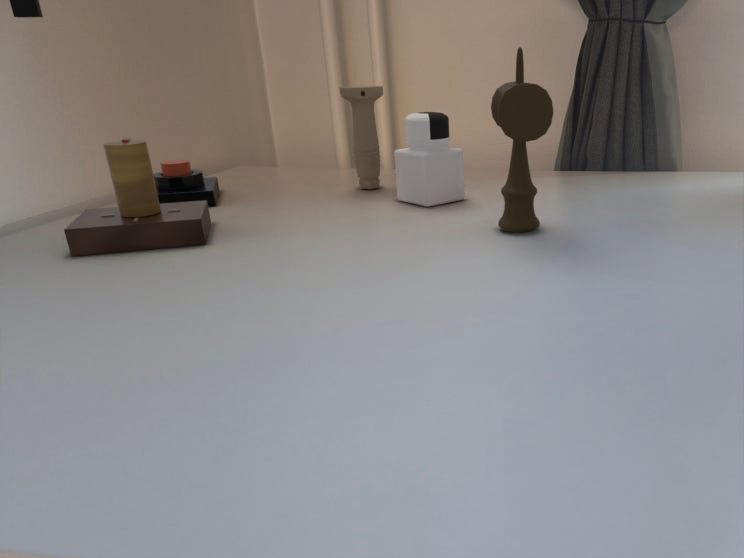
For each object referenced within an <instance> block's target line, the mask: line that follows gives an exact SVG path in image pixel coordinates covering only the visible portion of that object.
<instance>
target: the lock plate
mask: <svg viewBox="0 0 744 558" xmlns="http://www.w3.org/2000/svg"><path fill="white" fill-rule="evenodd" d="M160 208H161V212H160V213H158V214H155V215H150V216H144V217H122V216H121V215H120V211H119V207H118V206H109V207H96V208H95V207H94V208H86V209H84V210H83V211H82V212H81V213H80V214H79V215H78V216H77V217H76V218H75V219H74V220H72V222H70V223H69V224H68V225H67V226H66V227H65V228H64V229H63V232H64V235H65V239H66V243H67V246H68V249H69V253H70V256H71V257H78V256H79V257H80V256H90V255H102V254H114V253H125V252H136V251H146V250H148V251H149V250H157V249H158V250H159V249H168V248H180V247H192V246H202V245H207V242H208V237H209V233H210V229H211V225H212V219H211V215H210V210H209V206H208V203H207V200H204V201H190V202H176V203H163V204H160Z"/></svg>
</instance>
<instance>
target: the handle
mask: <svg viewBox="0 0 744 558" xmlns="http://www.w3.org/2000/svg"><path fill="white" fill-rule="evenodd" d="M339 94H340V97H341V98H342V99H344V100H346V101H347V102H349V104H350V106H351V115H352V118H351V119H352V138H353V139H352V141H353V155H354V156H353V157H354V158H353V159H354V166H355V170H356V175H357V178H359V179H358V184H359V188H360V189H361V190H369V191H370V190H374V189H375V190H376V189H379V188H380V186H381V185H380V184H381V180H380V176H381V154H380V153H381V151H380V144H379V143H380V142H379V137H378V131H377V122H376V113H375V102H376V101H377V100H379V99H380V98H381V97H383V96H384V86H383V85H353V86H352V85H351V86H350V85H349V86H339Z"/></svg>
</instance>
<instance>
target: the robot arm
mask: <svg viewBox="0 0 744 558" xmlns="http://www.w3.org/2000/svg"><path fill="white" fill-rule="evenodd" d="M9 4H10V8H11V11H12V15H13V17H15V18H43V17H44V15H43V12H42V8H41V4H40V0H9Z"/></svg>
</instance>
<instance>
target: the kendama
mask: <svg viewBox="0 0 744 558" xmlns="http://www.w3.org/2000/svg"><path fill="white" fill-rule="evenodd" d="M515 60H516V61H515V81H509V82H505V83H503V84H501V85H500V86H499V87H497V88H496V90H495V91H494V93H493V95H492V97H491V103H490V111H491V116H492V117H491V118H492V119H493V120H494V121H493V122H495V124H496V126H498V127H499V128H500V129H501V131H502V132H503V134H504V135H505V136H506V137H508V138H510V139H511V140H512V145H511V155H510V161H509V169H508V175H507V178H506V182H505V184H504V185H503V186H502V187H501V190H500V193H501V195H502V197H503V201H504V206H503V207H504V208H503V213H502V215H501V217H500V218H499V220H498V221H497V226H498V228H499V229H501V230H503V231H506V232H510V233H527V232H531V231H534V230H536V229H538V228H539V227H540V226H541V225H540V224H541V223H540V220H539V218H538V217H537V216H536V213H535V204H534V203H535V202H534V201H535V197H536V195H537V194H538V189H537V187H536V186H535V185H534V183H533V180H532V177H531V171H530V165H529V158H528V157H529V156H528V149H527V143H528V142H532V141H537V140H539V139H540V138H542V137H543V136H545V135H546V134H547V132H548V131H549V129H550V128H551V126H552V123H553V117H554V106H553V100H552V98H551V96H550V94H549V92H548V90H547V89H546V88H543V87H542V86H541V85H539V84H537V83H531V82H525V65H524V63H525V62H524V51H523V48H522V47H521V46H519V47H518V48H517V51H516V58H515Z"/></svg>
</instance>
